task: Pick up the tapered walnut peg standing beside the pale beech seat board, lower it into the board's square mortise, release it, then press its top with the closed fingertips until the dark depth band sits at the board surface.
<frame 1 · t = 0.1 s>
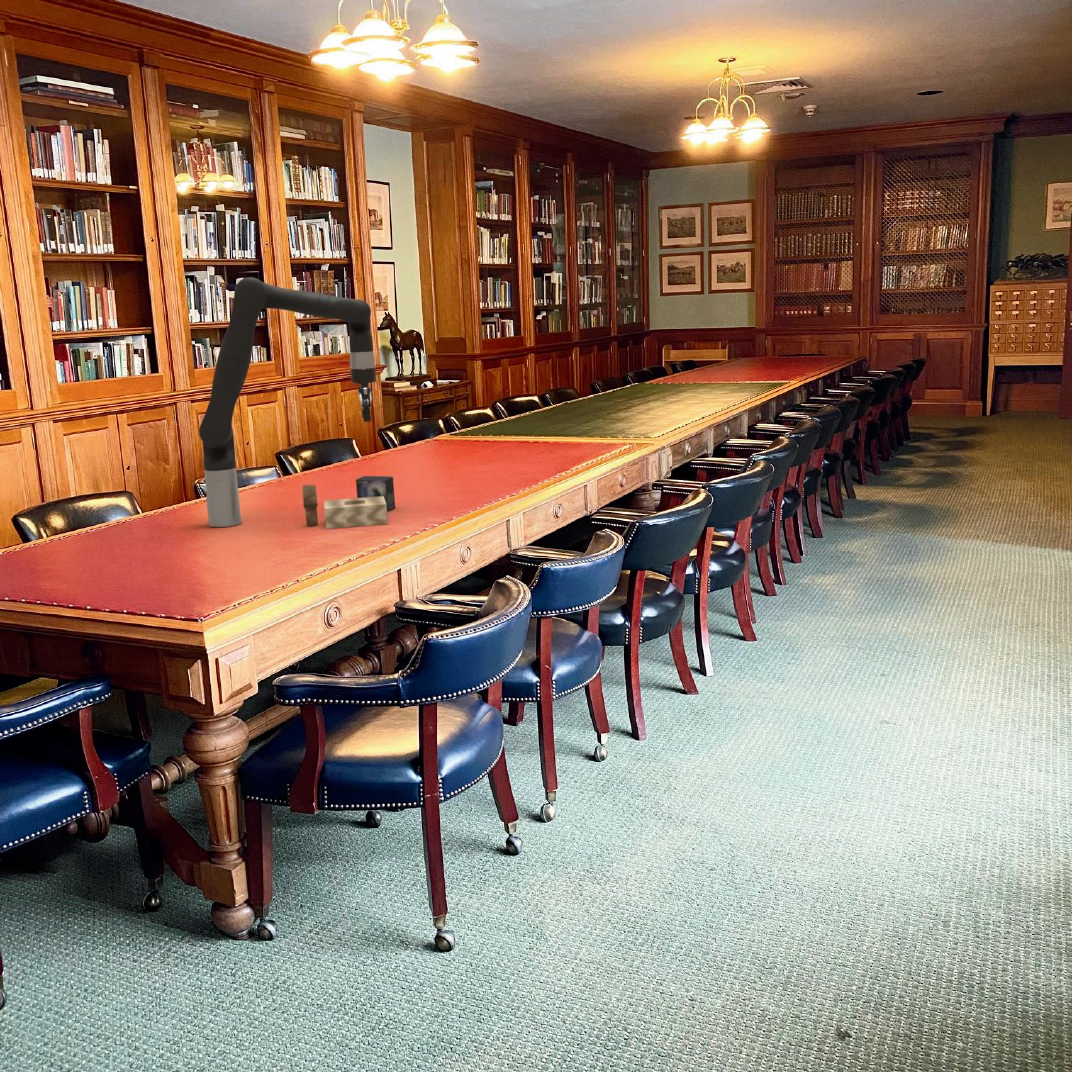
hand: (366, 420, 326), 29 cm above the table, fingers open, 8 cm apart
peg: (312, 525, 317), on the table
seat board: (356, 521, 320), on the table
small box: (376, 510, 337), on the table
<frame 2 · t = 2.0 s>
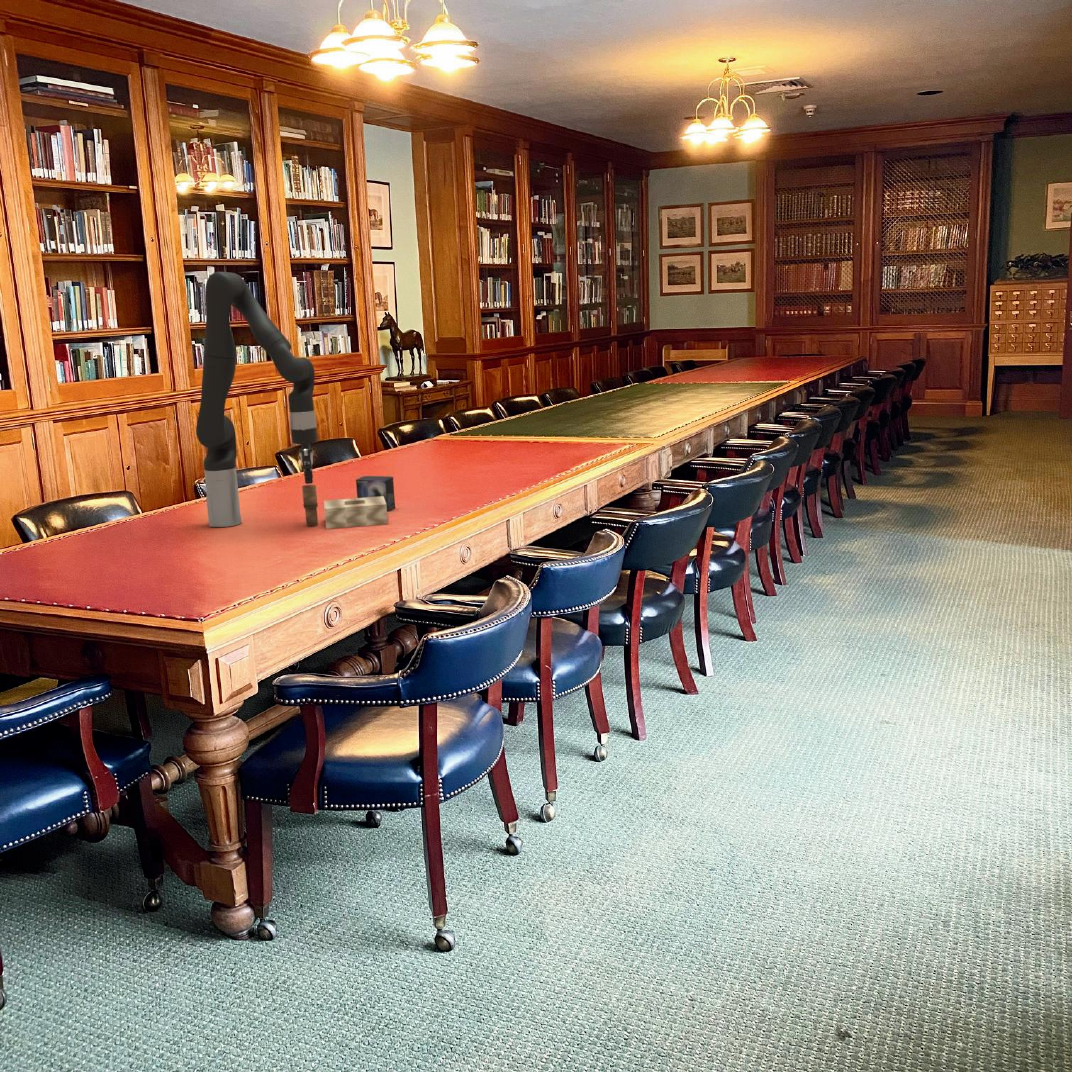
hand: (309, 481, 314), 13 cm above the table, fingers open, 8 cm apart
nothing on the table moved.
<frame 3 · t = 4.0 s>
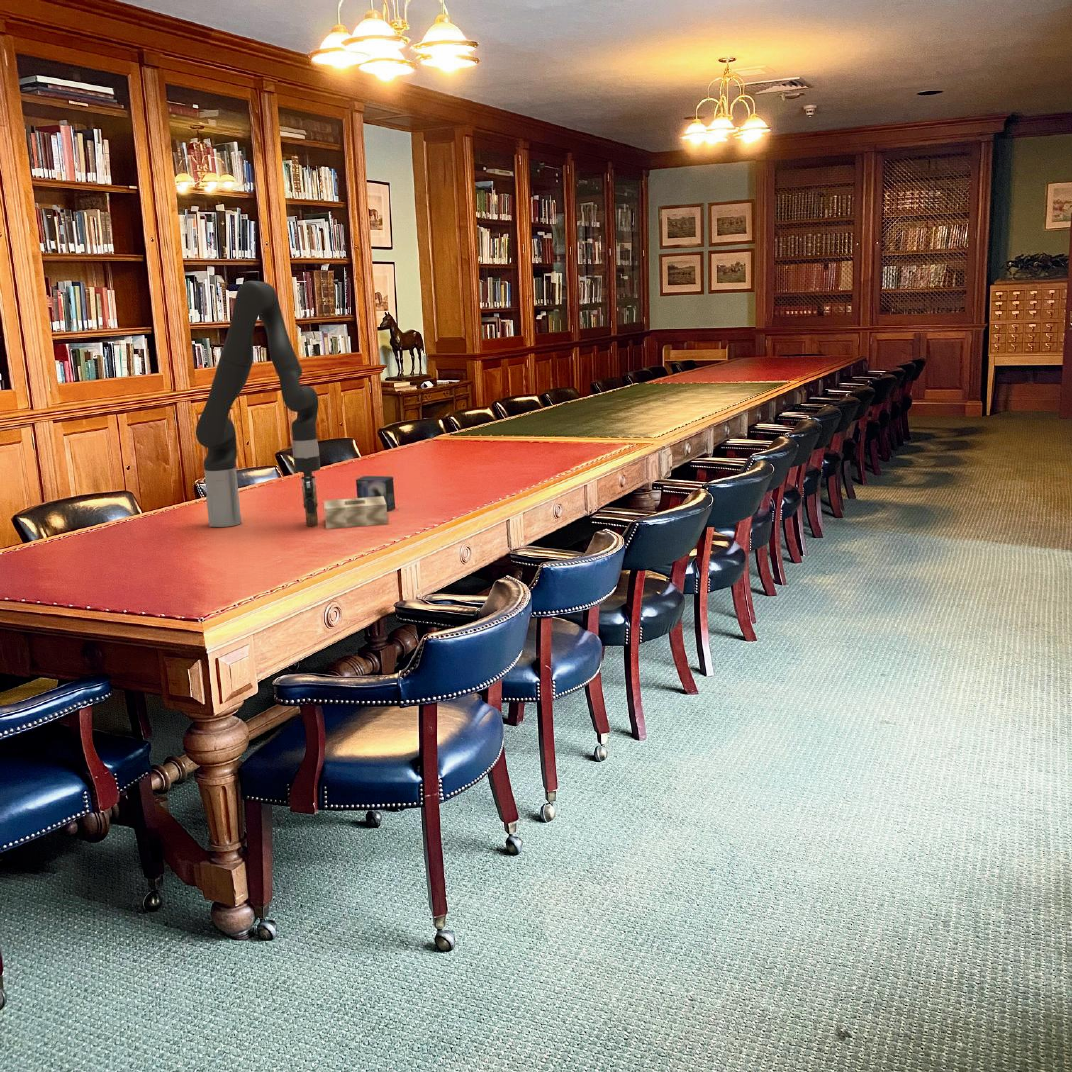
hand: (311, 511, 316), 4 cm above the table, fingers closed on peg, 4 cm apart
peg: (312, 525, 317), on the table, touching gripper
everything else where it was.
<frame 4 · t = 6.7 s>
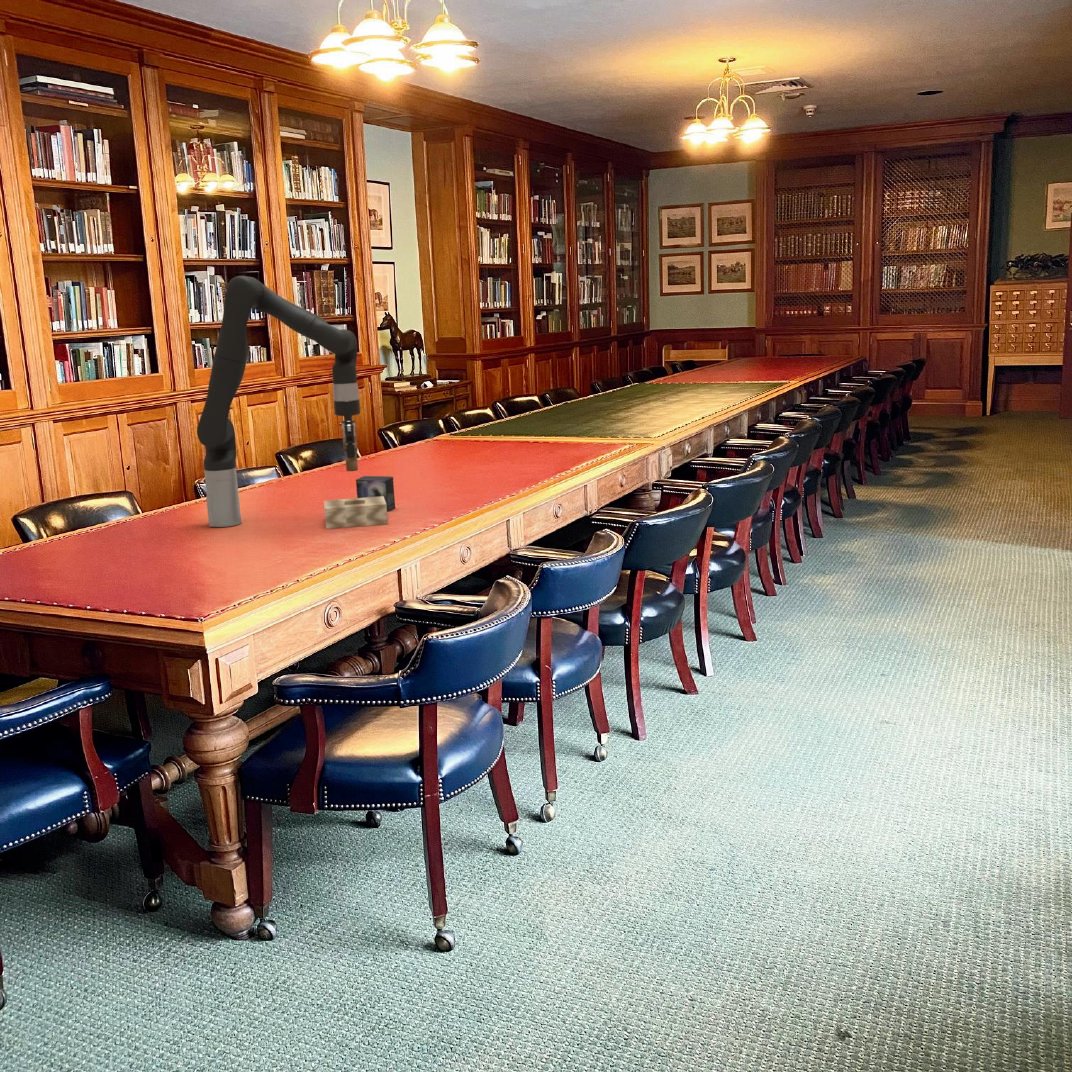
hand: (350, 456, 315), 20 cm above the table, fingers closed on peg, 4 cm apart
peg: (352, 470, 316), point 16 cm above the table, touching gripper
everything else where it was.
when the fingers open (7 cm above the table, at t = 9.7 s): peg drops 2 cm, resting in seat board.
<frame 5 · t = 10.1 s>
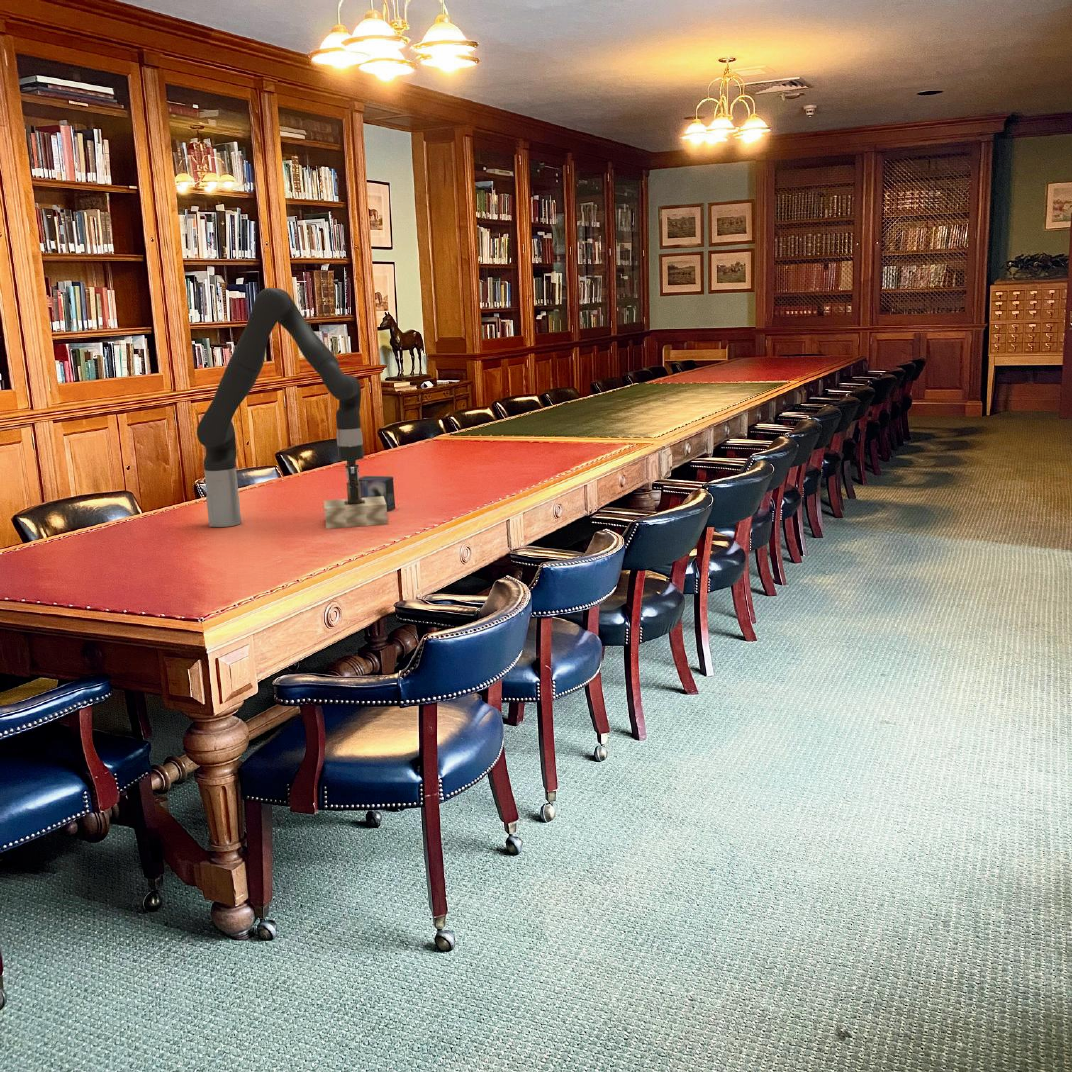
hand: (354, 497, 318), 7 cm above the table, fingers open, 7 cm apart
peg: (356, 521, 320), resting in seat board
everything else where it was.
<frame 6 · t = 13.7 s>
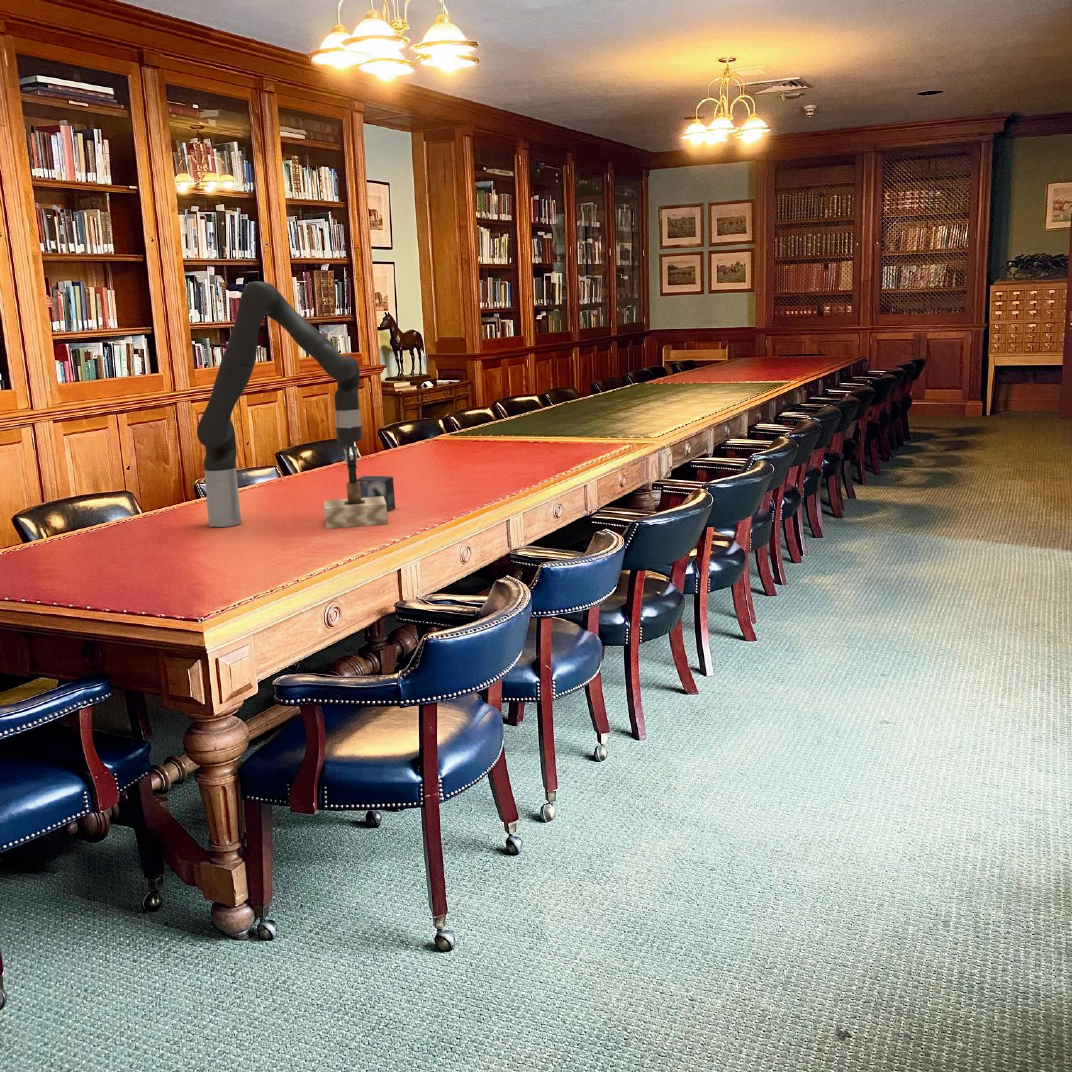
hand: (353, 482, 317), 12 cm above the table, fingers closed
peg: (356, 521, 320), resting in seat board, touching gripper
everything else where it was.
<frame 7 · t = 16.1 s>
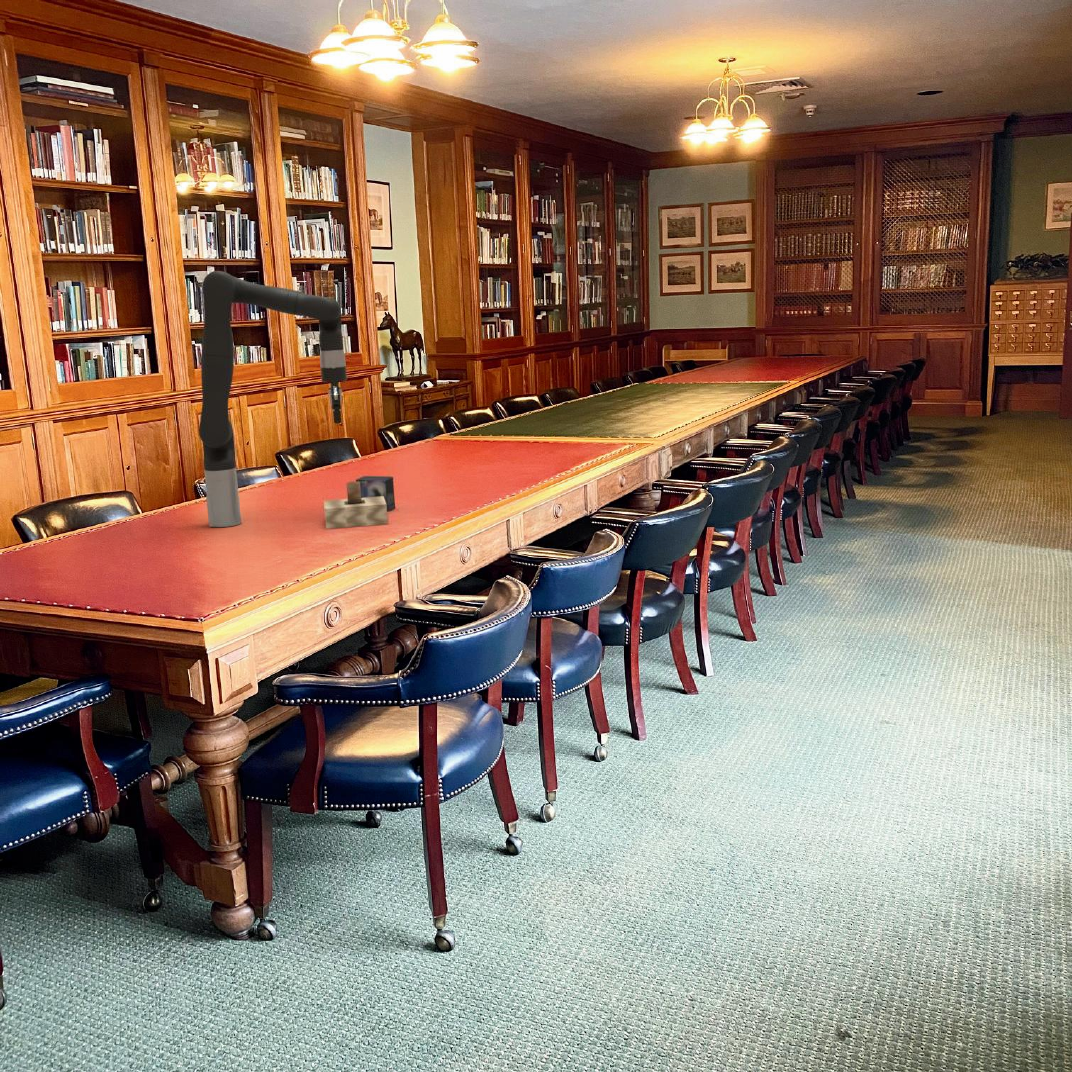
hand: (337, 423, 322), 29 cm above the table, fingers closed
peg: (356, 521, 320), resting in seat board
everything else where it was.
at the end: peg 0.1 cm off-centre on the seat board, point 0.0 cm above the seat board's base; peg tilted 0°; the gripper is holding nothing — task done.
